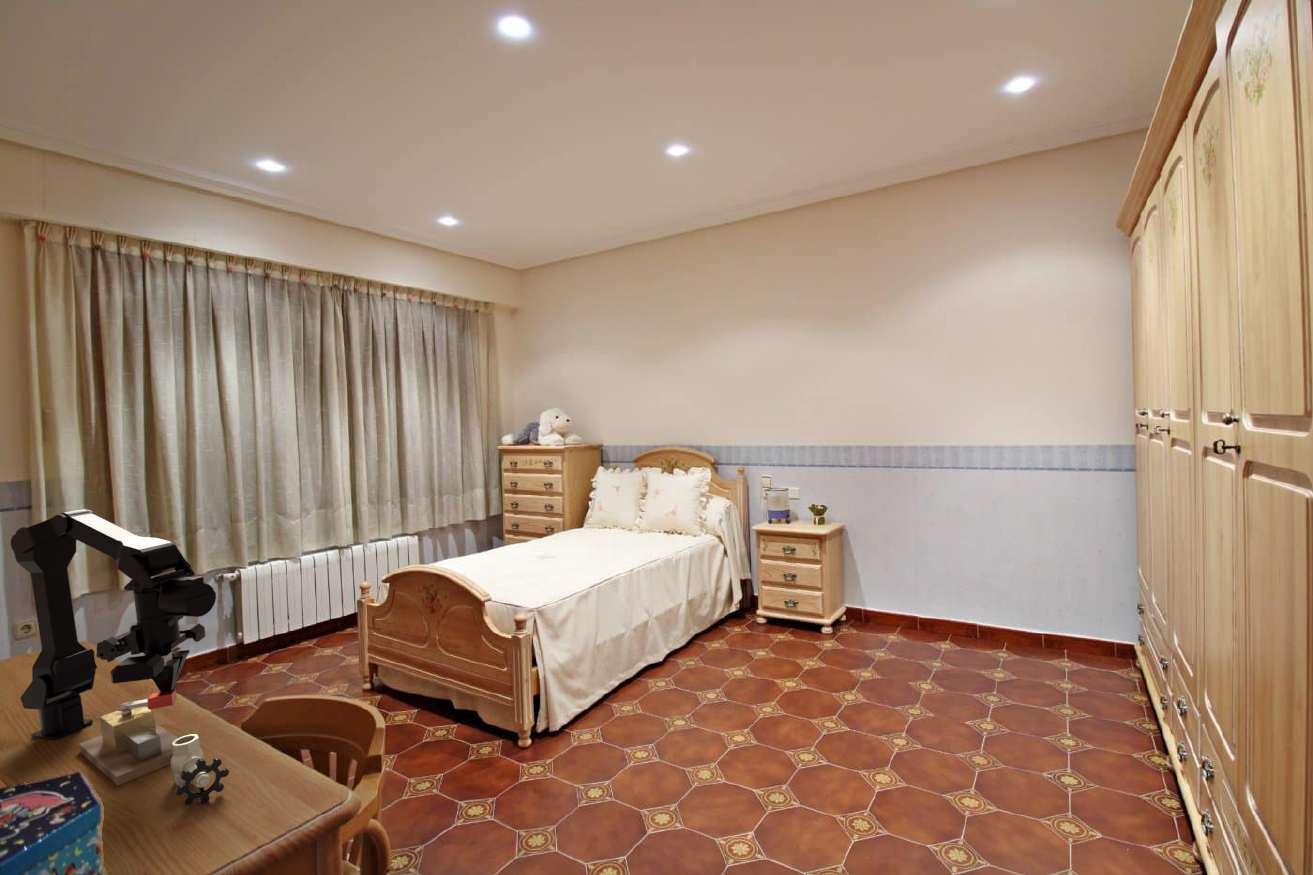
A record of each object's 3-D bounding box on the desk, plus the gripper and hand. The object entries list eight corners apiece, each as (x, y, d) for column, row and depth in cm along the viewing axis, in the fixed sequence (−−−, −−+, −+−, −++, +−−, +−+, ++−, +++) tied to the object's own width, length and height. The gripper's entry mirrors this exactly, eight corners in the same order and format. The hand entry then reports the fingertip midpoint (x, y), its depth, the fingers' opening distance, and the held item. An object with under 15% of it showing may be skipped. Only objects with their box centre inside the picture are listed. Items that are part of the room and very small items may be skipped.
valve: (160, 785, 99) (178, 815, 91) (156, 744, 99) (173, 771, 91) (210, 765, 104) (231, 792, 96) (206, 727, 104) (227, 750, 96)
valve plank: (79, 751, 111) (78, 743, 111) (149, 725, 119) (148, 718, 119) (117, 785, 99) (116, 776, 99) (191, 754, 108) (190, 746, 107)
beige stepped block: (98, 740, 111) (94, 707, 111) (137, 726, 116) (134, 694, 115) (129, 766, 102) (125, 730, 102) (171, 749, 107) (167, 715, 106)
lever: (116, 715, 108) (115, 704, 108) (122, 710, 110) (121, 699, 110) (172, 705, 111) (171, 694, 111) (176, 699, 113) (175, 689, 113)
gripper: (136, 600, 119) (146, 678, 121) (67, 639, 101) (79, 731, 103) (202, 594, 122) (210, 671, 123) (146, 631, 104) (157, 720, 105)
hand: (167, 696), depth 114 cm, fingers closed
